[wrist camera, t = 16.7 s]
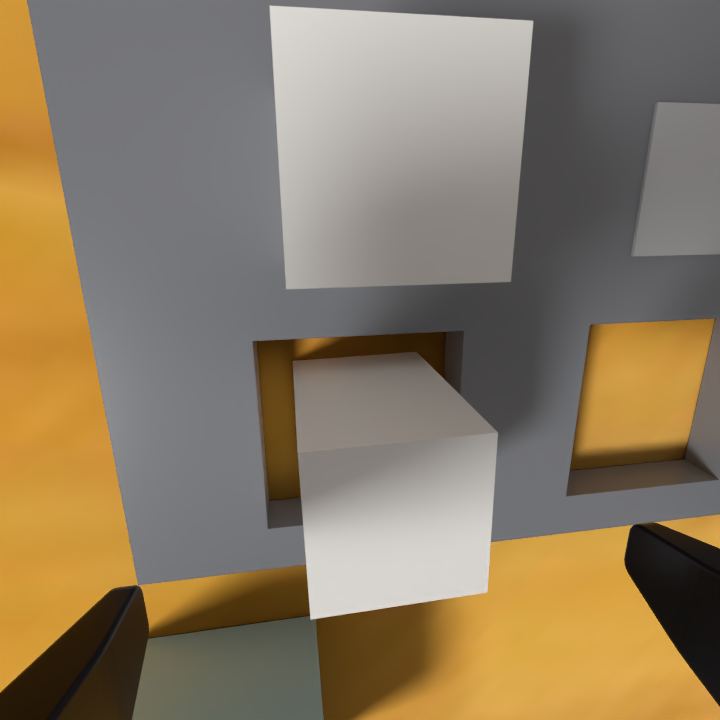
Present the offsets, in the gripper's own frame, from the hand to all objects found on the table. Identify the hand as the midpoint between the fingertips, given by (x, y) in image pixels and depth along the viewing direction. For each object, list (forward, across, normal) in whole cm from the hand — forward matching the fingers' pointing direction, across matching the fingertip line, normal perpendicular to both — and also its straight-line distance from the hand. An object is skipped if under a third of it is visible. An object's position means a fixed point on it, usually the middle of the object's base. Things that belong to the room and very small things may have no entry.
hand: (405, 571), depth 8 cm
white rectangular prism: (+7, 0, 0) cm, 7 cm away
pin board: (+7, -5, -4) cm, 10 cm away
